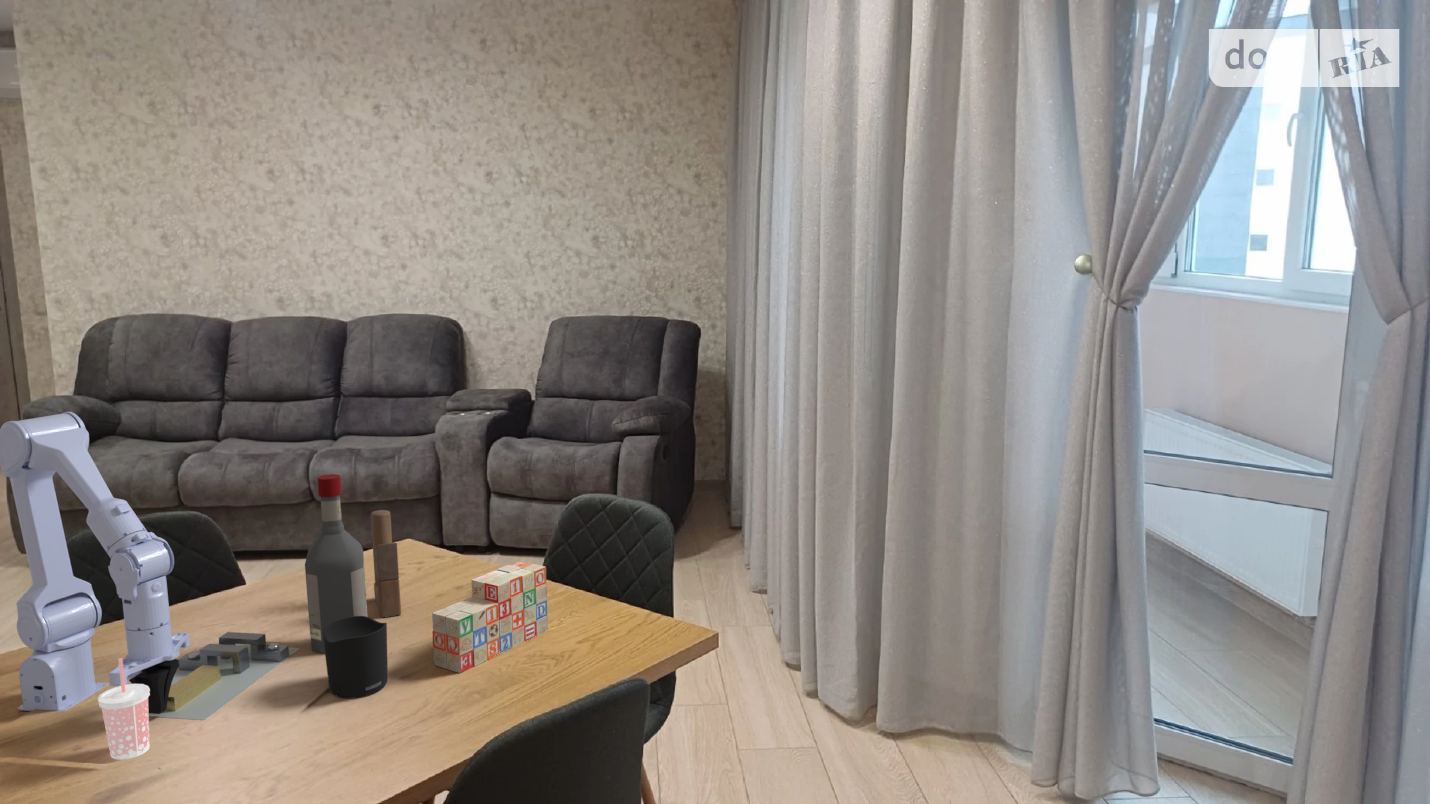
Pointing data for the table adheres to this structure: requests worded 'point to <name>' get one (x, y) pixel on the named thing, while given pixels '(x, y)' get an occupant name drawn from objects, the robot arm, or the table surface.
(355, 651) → the pen holder
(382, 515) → the wooden block
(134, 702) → the beverage cup
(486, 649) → the stack of blocks
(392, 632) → the table surface
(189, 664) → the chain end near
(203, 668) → the link bar
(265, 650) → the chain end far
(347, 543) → the liquor
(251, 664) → the mat
